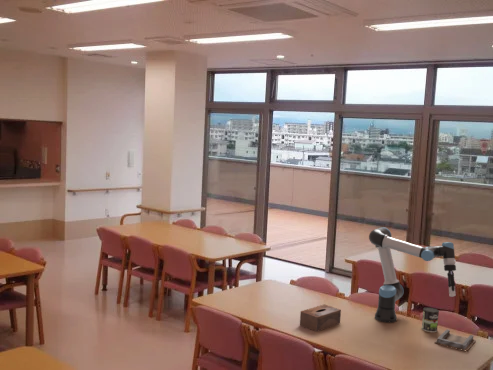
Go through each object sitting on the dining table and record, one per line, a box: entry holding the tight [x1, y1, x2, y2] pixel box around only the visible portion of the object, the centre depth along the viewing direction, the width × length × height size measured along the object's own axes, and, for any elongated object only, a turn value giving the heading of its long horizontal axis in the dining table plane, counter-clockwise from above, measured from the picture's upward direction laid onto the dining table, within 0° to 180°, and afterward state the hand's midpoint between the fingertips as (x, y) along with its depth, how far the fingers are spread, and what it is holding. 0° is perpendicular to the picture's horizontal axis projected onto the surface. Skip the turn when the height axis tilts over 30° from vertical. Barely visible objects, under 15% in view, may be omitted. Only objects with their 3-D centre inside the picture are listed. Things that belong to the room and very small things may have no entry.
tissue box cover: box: [299, 303, 342, 333], centre depth 369 cm, size 26×14×10 cm, turn 133°
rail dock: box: [434, 328, 476, 352], centre depth 348 cm, size 20×22×4 cm
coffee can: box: [421, 306, 440, 333], centre depth 368 cm, size 10×10×14 cm
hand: (452, 296), depth 365 cm, fingers open, 13 cm apart
